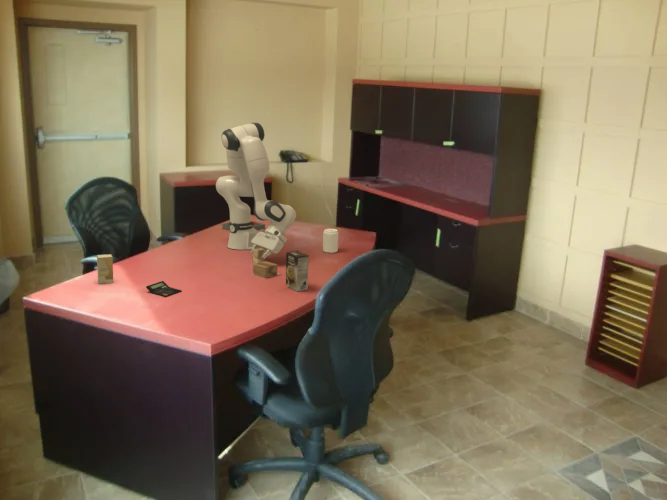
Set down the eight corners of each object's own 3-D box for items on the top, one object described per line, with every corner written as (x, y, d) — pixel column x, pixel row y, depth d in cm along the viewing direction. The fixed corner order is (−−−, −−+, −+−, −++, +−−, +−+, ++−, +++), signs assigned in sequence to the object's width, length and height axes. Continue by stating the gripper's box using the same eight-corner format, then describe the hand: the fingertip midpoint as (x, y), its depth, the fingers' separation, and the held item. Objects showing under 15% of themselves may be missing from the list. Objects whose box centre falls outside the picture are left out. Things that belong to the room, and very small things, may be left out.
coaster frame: (244, 224, 401) (244, 219, 401) (265, 228, 390) (265, 224, 390) (222, 228, 388) (222, 223, 387) (242, 233, 377) (242, 228, 376)
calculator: (165, 298, 266) (165, 291, 265) (146, 292, 272) (145, 285, 271) (181, 292, 274) (181, 285, 273) (162, 287, 280) (162, 280, 279)
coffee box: (285, 286, 285) (285, 251, 280) (296, 283, 289) (297, 249, 284) (296, 291, 278) (297, 256, 274) (308, 289, 282) (309, 254, 277)
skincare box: (99, 284, 280) (97, 257, 276) (97, 281, 283) (95, 255, 280) (114, 282, 283) (112, 256, 279) (112, 279, 286) (111, 253, 283)
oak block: (259, 263, 319) (259, 247, 317) (264, 265, 316) (264, 249, 314) (253, 264, 316) (252, 249, 314) (257, 266, 313) (257, 250, 311)
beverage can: (320, 252, 342) (321, 230, 339) (326, 248, 349) (326, 227, 346) (334, 254, 339) (335, 232, 336) (339, 250, 346) (340, 229, 343)
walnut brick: (265, 271, 303) (265, 261, 302) (277, 274, 298) (277, 264, 297) (253, 274, 297) (253, 264, 296) (265, 278, 292) (265, 268, 291)
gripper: (258, 226, 324) (242, 247, 320) (282, 234, 309) (265, 256, 305) (265, 233, 328) (249, 254, 324) (289, 241, 313) (272, 263, 309)
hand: (257, 255), depth 314 cm, fingers open, 8 cm apart
